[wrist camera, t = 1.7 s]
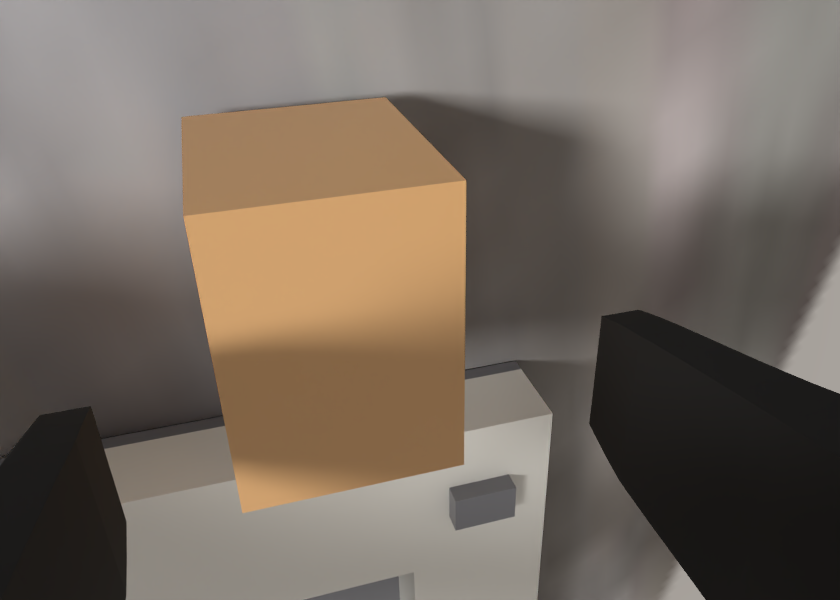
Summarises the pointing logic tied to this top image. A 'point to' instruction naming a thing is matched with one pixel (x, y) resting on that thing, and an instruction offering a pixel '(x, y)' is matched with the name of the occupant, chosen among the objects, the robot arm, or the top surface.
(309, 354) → the plug
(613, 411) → the robot arm
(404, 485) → the white cutout panel
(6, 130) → the top surface
